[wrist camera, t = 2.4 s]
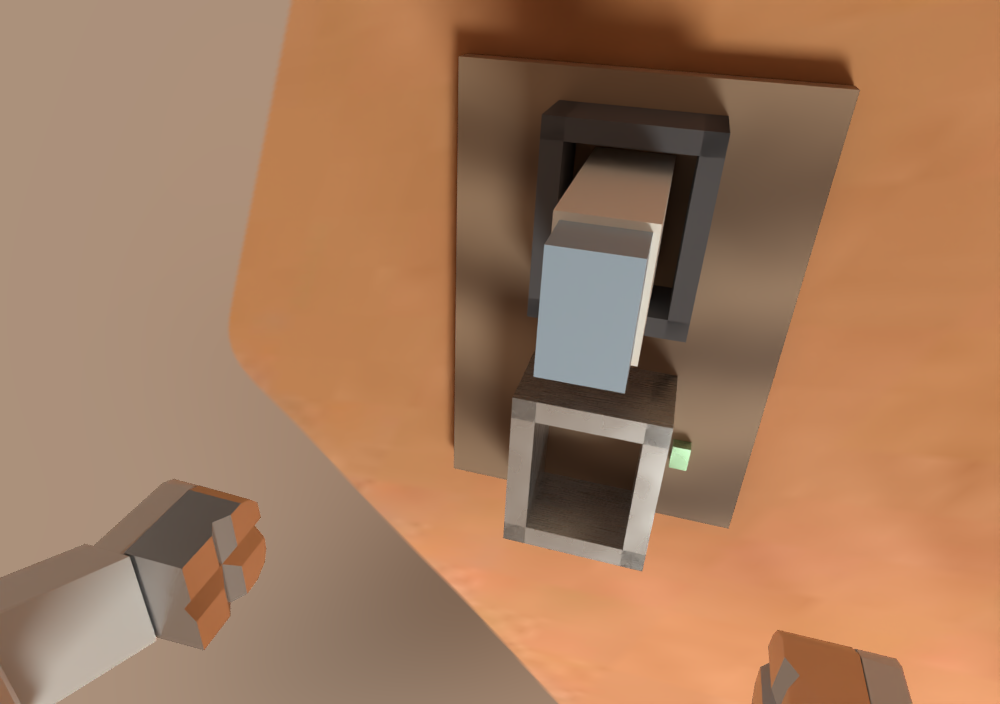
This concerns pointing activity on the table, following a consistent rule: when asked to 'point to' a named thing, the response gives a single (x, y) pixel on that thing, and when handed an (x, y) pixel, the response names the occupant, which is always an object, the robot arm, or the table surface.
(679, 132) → the dark grey hollow frame
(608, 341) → the plug
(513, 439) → the frame
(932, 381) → the table surface
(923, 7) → the table surface
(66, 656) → the robot arm
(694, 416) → the board
